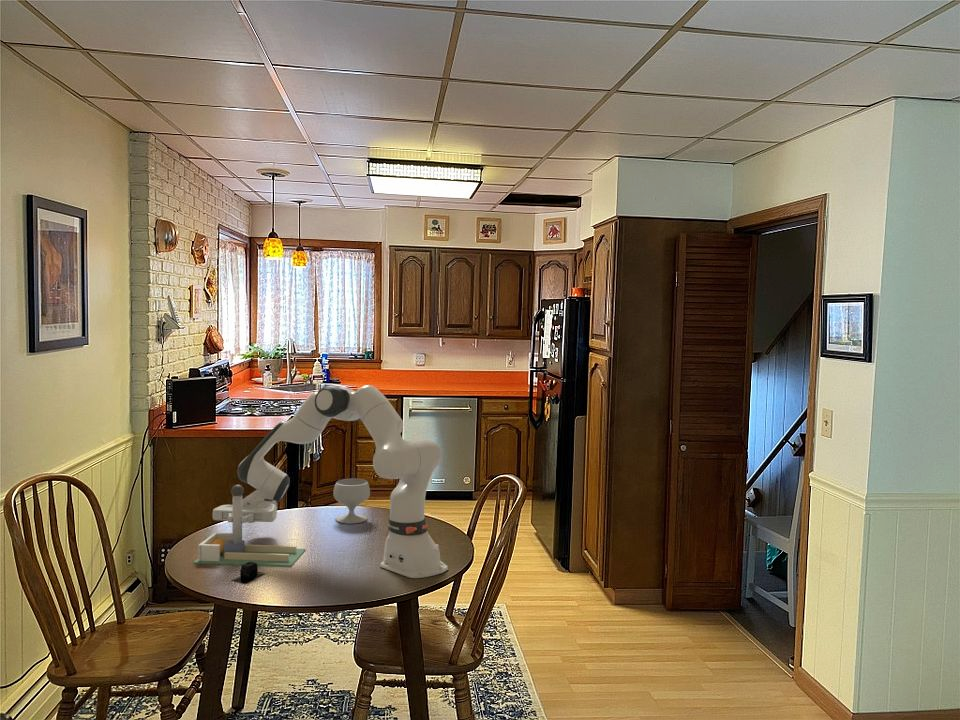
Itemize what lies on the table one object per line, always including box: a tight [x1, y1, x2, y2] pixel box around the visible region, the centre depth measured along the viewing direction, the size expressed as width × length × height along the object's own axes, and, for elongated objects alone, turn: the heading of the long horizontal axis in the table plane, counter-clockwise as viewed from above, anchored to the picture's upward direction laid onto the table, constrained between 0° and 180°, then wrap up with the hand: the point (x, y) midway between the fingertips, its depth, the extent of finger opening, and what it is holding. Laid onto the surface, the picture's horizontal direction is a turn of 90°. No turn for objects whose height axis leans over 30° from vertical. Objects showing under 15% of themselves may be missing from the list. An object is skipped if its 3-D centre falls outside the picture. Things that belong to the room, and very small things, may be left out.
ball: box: [212, 539, 226, 554], centre depth 230 cm, size 5×5×5 cm
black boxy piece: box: [230, 562, 266, 585], centre depth 211 cm, size 12×7×5 cm, turn 156°
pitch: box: [192, 548, 306, 568], centre depth 229 cm, size 31×16×1 cm, turn 88°
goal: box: [197, 532, 298, 561], centre depth 229 cm, size 28×13×5 cm, turn 88°
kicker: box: [224, 484, 246, 553], centre depth 229 cm, size 6×5×22 cm
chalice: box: [332, 477, 371, 525], centre depth 273 cm, size 14×14×15 cm
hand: (236, 520), depth 228 cm, fingers closed on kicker, 3 cm apart
